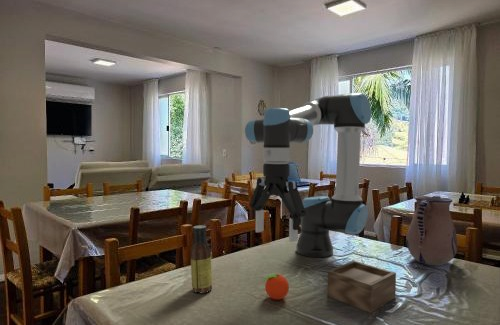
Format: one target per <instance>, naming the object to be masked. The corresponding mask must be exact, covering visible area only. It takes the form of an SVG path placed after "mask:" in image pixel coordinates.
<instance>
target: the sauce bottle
mask: <svg viewBox="0 0 500 325" xmlns="http://www.w3.org/2000/svg"><path fill="white" fill-rule="evenodd" d="M192 232H193V244H192V246H191V248H190V274H191V287H192V291H193V290H194V291H196V292H207V291H209V292H211V291H212V289H213V271H212V252H211V250H210V247H209V243H208V240H207V226H206V225H200V224H199V225H195V226H193V227H192ZM210 290H211V291H210ZM196 292H195V293H196ZM207 293H208V292H207Z"/></svg>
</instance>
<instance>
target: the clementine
mask: <svg viewBox="0 0 500 325" xmlns="http://www.w3.org/2000/svg"><path fill="white" fill-rule="evenodd" d="M265 281H266V282H265ZM264 282H265V284H264V285H265V286H264V287H265V288H264V289H265V292H266V294H267V296H269V297H270V298H271V299H273V300H283V298H285V297H286V296H287V295H288V293H289V289H290V286H289V281H288V280H287V279H286V277H285V276H283V275H281V274H277V273H276V274H271V275H268V276H267V277H265V278H264V279H263V280H262V283H264Z"/></svg>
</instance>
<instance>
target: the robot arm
mask: <svg viewBox="0 0 500 325" xmlns="http://www.w3.org/2000/svg"><path fill="white" fill-rule="evenodd" d="M371 118H372V107H371V103H370V101H369V98H368V97H367V95H366V94H364V93H363V92H349V93H342V94H331V95H326V96H322V97H319V98H316V99H313V100H310V101H307V102H305V103H303V104H302V105H301V106H300V107H297V108H294V109H291V110H289V109H288V108H283V107H271V108H270V107H269V108H267V109H265V110H264V113H263V118H262V119H254V120H250V121H248V122H247V123H246V125H245V128H244V134H245V137H246V139H247V141H249V142H251V143H257V144H259V143H263V160H262V161H263V162H264V164H263V166H262V168H263V171H262V174H263V176H264V177H258V178H257V179H256V186H255V189H254V191H253V194H252V197H251V199H250V203H249V207H250V208H252V209H253V211H254V221H255V233H261V232H264V230H265V228H264V226H265V222H264V221H265V210H264V207H265V205H266V203H267V202H268V200H269V199H270V197H271V196H276V197H279V198H280V199H281V200H282V202H283V204H284V206H285V207H286V209H287V211H288V212H289V215H290V216H291V217H289V221H288V222H289V224H288V225H289V226H288V229H289V230H288V233H289V234H288V235H289V236H288V239H289V240H288V242H289V243H293V242H297V243H296V249H295V250H296V253H297V254H299V255H301V256H304V257H311V258H325V257H330V256H333V253H334V247H333V245H332V241H331V237H330V231H333V232H338V233H343V234H344V233H345V234H351V235H358V234H360V233H361V232H362V231H363V230H364V229H365V226H366V224H367V221H368V215H369V211H368V207H367V205H366V204H364V203H363V198H362V197H361V196H360V194H359V191H360V190H359V189H360V188H359V187H360V186H359V185H360V159H361V158H360V157H361V156H360V155H361V136H362V135H361V133H362V132H363V131H364V130H365V129H366V125H367V124H369V123H370V121H371ZM317 125H333V129H334V130H335V131H336V132H337V145H336V174H335V176H336V178H335V193H334V195H332V196H331V198H330V197H329V196H326V195H322V196H311V197H304V198H303V199H302V198H301V194H300V193H299V190H298V182H297V181H296V180H294V181H292V180H291V181H289V180H288V178H289V177H290V168H291V167H290V164H289V162H290V161H291V160H290V158H291V157H290V156H291V155H290V154H291V150H290V149H291V148H290V144H291V143H298V144H301V143H306V142H308V141H310V140H311V139H312V137H313V135H314V126H317ZM299 230H300V235H299Z"/></svg>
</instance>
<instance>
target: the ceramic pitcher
mask: <svg viewBox="0 0 500 325" xmlns="http://www.w3.org/2000/svg"><path fill="white" fill-rule="evenodd" d="M413 198H414V200H415V201H416V208H415V211H414V214H413V216H412V219H411V222H410V224H409V225H408V226H409V227H408V230H407V233H406V237H405V242H406V247H407V249H408V252H409V254H410V255H411V256H412V258H414V259H415V260H416V261H417V262H418V263H419V264H424V265H427V266H443V265H445V264H448V263H449V262H451V261H452V260H453V259H454V258H455V257H456V254H457V252H458V247H459V246H458V237H457V236H458V235H457V231H456V227H455V225H454V221H453V219H452V218H453V217H452V214H451V211H450V206H451V204H452V202H453V199H451V198H447V197H442V196H436V195H433V196H427V195H415V196H414V197H413Z"/></svg>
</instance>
